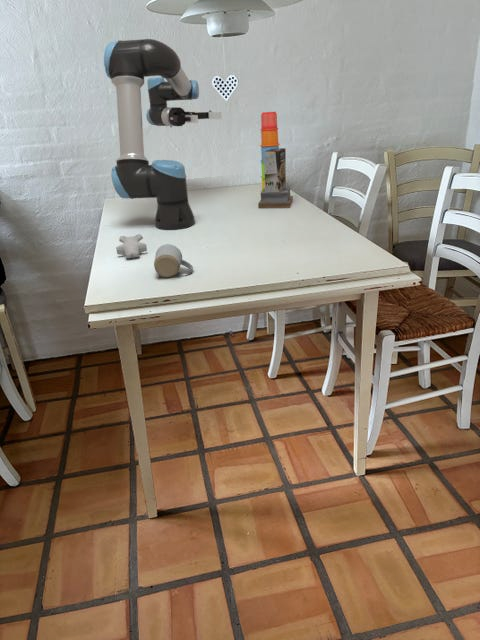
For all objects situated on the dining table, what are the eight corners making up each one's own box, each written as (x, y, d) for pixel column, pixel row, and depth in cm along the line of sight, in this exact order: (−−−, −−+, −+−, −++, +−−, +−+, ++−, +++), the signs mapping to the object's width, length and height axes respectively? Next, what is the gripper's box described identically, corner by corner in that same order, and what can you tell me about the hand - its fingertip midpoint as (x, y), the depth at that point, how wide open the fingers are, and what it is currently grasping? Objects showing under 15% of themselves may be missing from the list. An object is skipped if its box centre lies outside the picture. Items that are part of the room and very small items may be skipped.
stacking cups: (257, 193, 222) (254, 113, 206) (265, 189, 230) (263, 111, 215) (278, 194, 218) (277, 112, 203) (285, 189, 227) (284, 110, 211)
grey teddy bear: (115, 250, 147) (115, 231, 159) (118, 265, 150) (117, 245, 162) (146, 246, 148) (143, 228, 160) (148, 261, 151) (145, 242, 163)
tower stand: (289, 208, 196) (289, 193, 193) (258, 208, 198) (257, 193, 195) (292, 200, 207) (292, 186, 204) (263, 200, 209) (262, 186, 207)
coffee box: (279, 192, 195) (278, 151, 188) (264, 192, 198) (263, 151, 190) (286, 187, 202) (286, 147, 195) (272, 187, 205) (271, 147, 197)
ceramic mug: (154, 279, 134) (151, 253, 130) (157, 269, 141) (154, 244, 137) (192, 277, 134) (190, 251, 131) (193, 267, 141) (191, 242, 138)
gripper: (195, 123, 218) (230, 123, 205) (153, 129, 201) (187, 130, 188) (194, 105, 214) (229, 104, 201) (150, 110, 198) (185, 109, 185)
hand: (209, 117), depth 195 cm, fingers open, 13 cm apart
